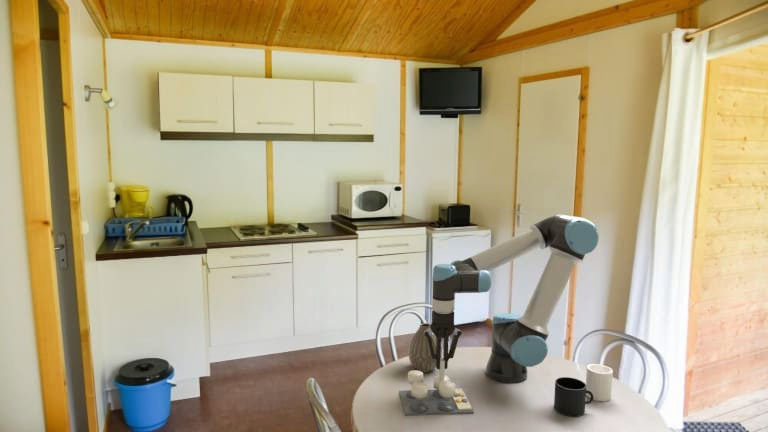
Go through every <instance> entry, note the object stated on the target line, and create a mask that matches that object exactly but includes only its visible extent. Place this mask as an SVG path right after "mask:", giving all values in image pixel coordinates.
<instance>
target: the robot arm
mask: <svg viewBox="0 0 768 432" xmlns="http://www.w3.org/2000/svg"><path fill="white" fill-rule="evenodd" d="M599 236H600V235H599V231H598V228H597V226H596V225H595V224H594V223H593V222H592V221H591V220H589V219H587V218H584V217H580V216H574V215H570V214H566V213H565V214H564V213H561V214H554V215H552V216H549V217H547V218H544V219H542V220H540V221H538V222H536V223H533V224H532V225H530V227H529V229H528V230H527V229H526V231H523V232H521V233H519V234H517V235H515V236H513V237H510V238H509V239H507V240H505V241H502V242H500V243H498V244H496V245H494V246H491V247H489V248H487V249H485V250H483V251H481V252H479V253H477V254H474V255H472V256H470V257H468V258H466V259H465V258H464V259H463V260H457V259H456V260H454V261H452V262H450V264H449V263H438V264H436V265H434V267H433V270H432V277H431V278H432V279H431V280H432V297H431V299H432V301H431V302H432V303H431V309H432V310H431V323H430V324H431V325H430V328H429V329H427V330H424V334H425V336H426V337H427V341H428V345H429V350H430V354H431V357H432V359H436V368H435V369H436V370H438V375H439V378H440V379H444V375H445V370H447V369H448V366H449V365H448V363H449V361H450V359H453V358H454V356H455V353H456V349H457V346H458V341H459V338H460V337H461V335H462V334H463V333H462V331H461V329H459V328H456V325H455V300H456V294H475V293H477V294H481V293H487V292H490V289H491V288H492V287H491V286H492V276H491V274H490V272H491V271H493V270H495V269H497V268H499V267H501V266H503V265H506V264H508V263H510V262H512V261H515V260H516V259H518V258H521V257H522V256H524V255H527V254H529V253H531V252H534V251H536V250H538V249H541V250H544V249H546V248H549V250H550V256H549V259H548V261H547V262H546V264H545V267H544V269H543V271H542V274H541V276H540V278H539V280H538V283H537V284H536V286H535V290H534V291H533V294H532V296H531V298H530V300H529V301H528V302H529V303H528V304H527V306H526V309H525V310H524V311H525V312H524V313H523V315H521V314H518V313H497V314H495V315H493V317H492V323H491V326H492V327H491V354H490V356H489V359H488V361H487V362H486V363H487V364H486V366H485V370H486V371H485V372H486V373H485V374H486V375H487V376H488V377H489V378H490V379H492V380H495V381H498V382H502V383H508V384H509V383H511V384H514V383H521V382H523V381H525V380H527V378H528V368H531V367H532V368H533V367H535V366H538V365H540V364H541V363H542V362H543V361H545V359H546V358H547V355H548V352H549V351H548V350H549V348H548V344H547V339H548V337H549V334H550V332H549V330H548V325H549V324H550V321H551V319H552V317H553V315H554V312H555V310H556V308H557V306H558V304H559V301H560V300H561V296H562V295H563V293H564V291H565V288H566V286H567V284H568V282H569V280H570V277H571V275H572V273H573V271H574V268H575V266H576V264H578V263H582V262H583V260H584V258H585V256H586V255H588V254H590V253H592V252H593V251H594V250H595V249H596V247H597V246H598V243H599V238H600V237H599ZM431 331H432V332H433V333H434V335H435V336H436V354H435V353H434V349H433V344H432V340H431V337H430V335H431ZM452 334H453V336H452V338H451V343H450V347H449V341H450V337H451V335H452ZM442 339H443V346H442V358H441V345H442Z"/></svg>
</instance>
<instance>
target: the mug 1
mask: <svg viewBox="0 0 768 432" xmlns="http://www.w3.org/2000/svg"><path fill="white" fill-rule="evenodd" d="M586 393H588V394H590V396H591V398H589V400H587V398H586V397H587V396H586ZM553 399H554V401H553V408H554V410H555V411H556V412H557V413H558V414H560V415H563V416H567V417H572V418H574V417H578V418H579V417H581V416H583V415H584V414H585V412H586V405H589V404H591V403H593V394H592V392H590V391H588V390H586V382H584V381H582V380H580V379H578V378H574V377H568V376H563V377H558V378H556V379H555V382H554V398H553Z"/></svg>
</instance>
